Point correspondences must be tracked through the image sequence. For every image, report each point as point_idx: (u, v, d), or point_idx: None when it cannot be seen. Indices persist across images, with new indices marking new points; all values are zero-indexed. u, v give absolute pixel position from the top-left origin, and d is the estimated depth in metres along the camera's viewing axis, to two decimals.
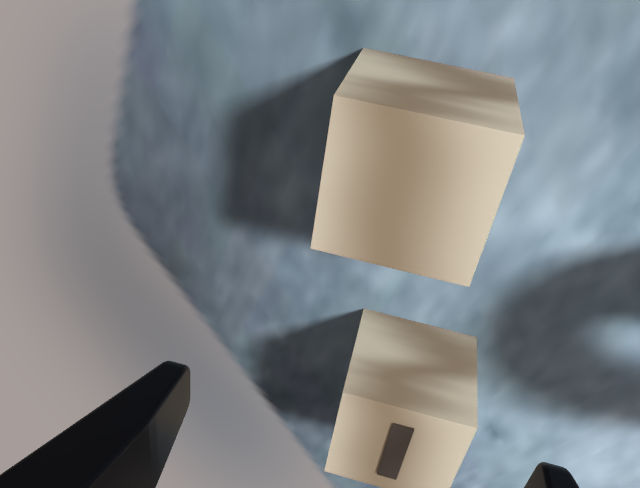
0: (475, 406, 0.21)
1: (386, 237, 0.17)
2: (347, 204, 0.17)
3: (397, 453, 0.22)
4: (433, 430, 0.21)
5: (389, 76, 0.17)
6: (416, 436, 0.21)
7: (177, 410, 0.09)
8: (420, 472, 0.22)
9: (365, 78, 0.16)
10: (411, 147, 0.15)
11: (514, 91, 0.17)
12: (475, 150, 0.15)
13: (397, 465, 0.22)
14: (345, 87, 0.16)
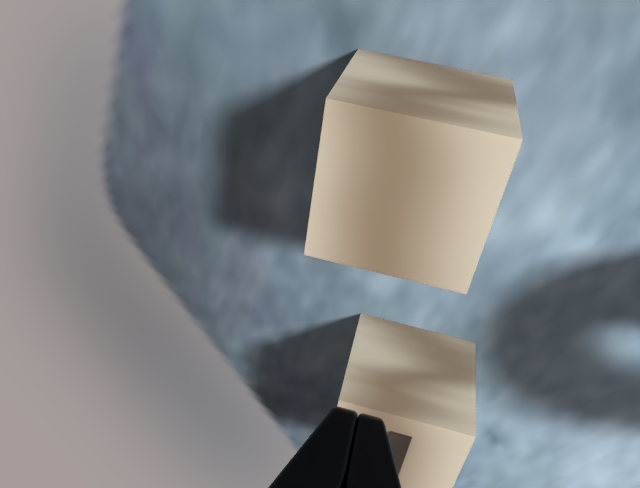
0: (474, 413, 0.21)
1: (381, 243, 0.16)
2: (341, 210, 0.16)
3: None
4: (431, 438, 0.21)
5: (383, 78, 0.16)
6: (414, 445, 0.21)
7: None
8: (418, 480, 0.22)
9: (359, 80, 0.16)
10: (406, 152, 0.15)
11: (512, 93, 0.17)
12: (472, 155, 0.14)
13: None
14: (338, 90, 0.15)
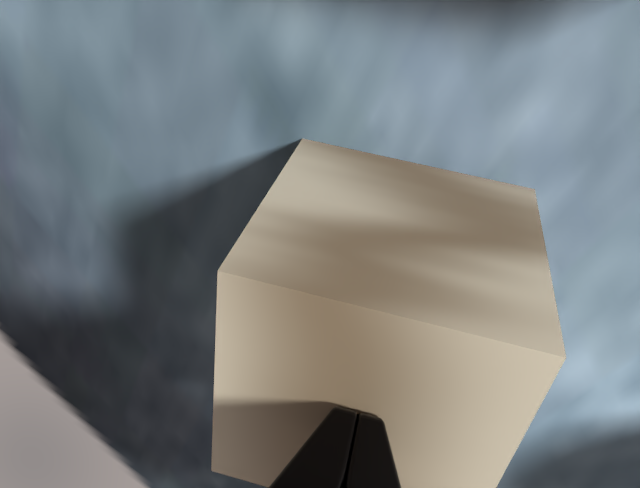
0: None
1: None
2: (260, 423, 0.10)
3: None
4: None
5: (331, 206, 0.10)
6: None
7: None
8: None
9: (289, 215, 0.10)
10: (359, 357, 0.09)
11: (538, 225, 0.11)
12: (474, 371, 0.08)
13: None
14: (245, 244, 0.09)
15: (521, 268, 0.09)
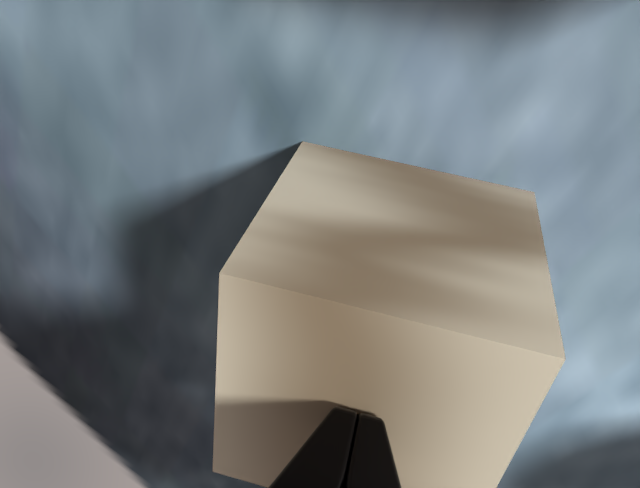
0: None
1: None
2: (262, 424, 0.10)
3: None
4: None
5: (332, 208, 0.10)
6: None
7: None
8: None
9: (289, 218, 0.10)
10: (360, 359, 0.09)
11: (537, 227, 0.11)
12: (475, 372, 0.08)
13: None
14: (247, 247, 0.09)
15: (521, 270, 0.09)
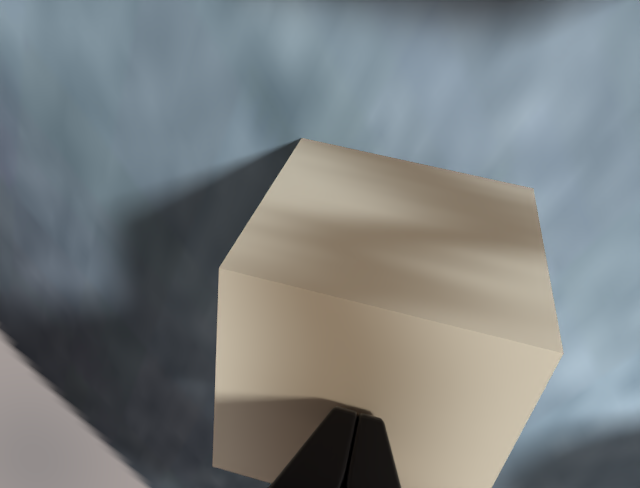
0: None
1: None
2: (261, 419, 0.10)
3: None
4: None
5: (331, 204, 0.10)
6: None
7: None
8: None
9: (289, 213, 0.10)
10: (360, 354, 0.09)
11: (536, 223, 0.11)
12: (473, 367, 0.08)
13: None
14: (247, 242, 0.09)
15: (519, 265, 0.09)
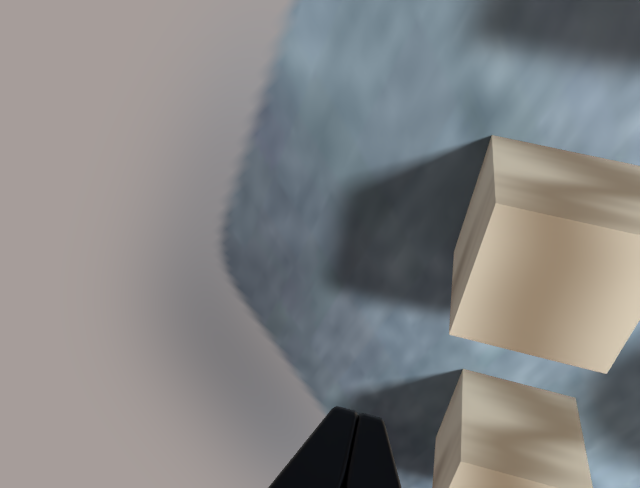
0: (588, 473, 0.22)
1: (528, 327, 0.18)
2: (493, 298, 0.17)
3: None
4: None
5: (531, 173, 0.17)
6: None
7: None
8: None
9: (512, 177, 0.17)
10: (567, 251, 0.16)
11: None
12: (633, 256, 0.15)
13: None
14: (501, 191, 0.16)
15: None
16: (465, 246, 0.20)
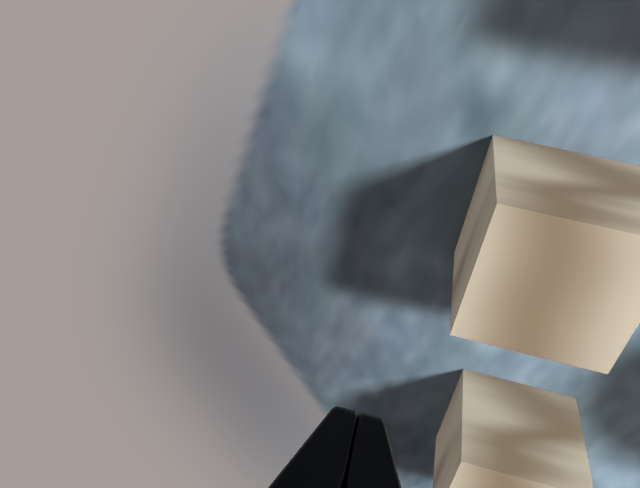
0: (589, 474, 0.22)
1: (529, 328, 0.18)
2: (494, 298, 0.17)
3: None
4: None
5: (533, 173, 0.17)
6: None
7: None
8: None
9: (514, 177, 0.17)
10: (568, 251, 0.16)
11: None
12: (634, 256, 0.15)
13: None
14: (502, 191, 0.16)
15: None
16: (466, 246, 0.19)
